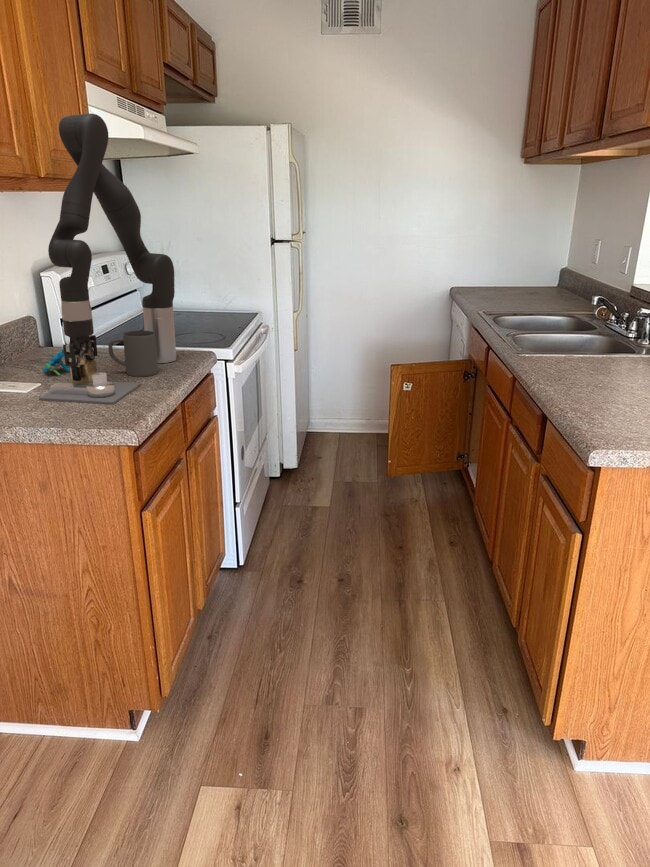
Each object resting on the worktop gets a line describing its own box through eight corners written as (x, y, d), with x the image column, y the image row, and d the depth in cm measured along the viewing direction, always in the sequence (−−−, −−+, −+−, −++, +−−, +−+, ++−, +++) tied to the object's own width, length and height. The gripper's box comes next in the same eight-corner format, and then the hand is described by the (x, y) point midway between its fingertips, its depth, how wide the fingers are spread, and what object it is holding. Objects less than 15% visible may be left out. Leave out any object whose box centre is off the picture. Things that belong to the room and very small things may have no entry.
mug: (159, 369, 196) (156, 330, 192) (156, 376, 188) (153, 336, 183) (113, 369, 194) (109, 330, 190) (108, 377, 186) (104, 336, 182)
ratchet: (61, 387, 173) (58, 368, 171) (119, 391, 171) (117, 371, 169) (47, 395, 166) (44, 374, 164) (108, 398, 164) (106, 378, 163)
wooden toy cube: (80, 380, 180) (78, 359, 178) (97, 381, 180) (95, 360, 178) (72, 385, 175) (69, 363, 173) (89, 386, 175) (87, 364, 173)
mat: (73, 381, 181) (73, 379, 181) (141, 385, 179) (141, 383, 179) (39, 400, 164) (38, 397, 164) (113, 404, 162) (113, 402, 162)
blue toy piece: (54, 361, 196) (71, 340, 192) (69, 374, 197) (86, 354, 193) (34, 375, 186) (51, 353, 182) (50, 389, 188) (67, 368, 183)
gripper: (77, 312, 178) (83, 369, 184) (49, 321, 165) (57, 383, 171) (102, 313, 177) (108, 371, 183) (77, 322, 164) (84, 384, 170)
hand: (84, 376), depth 177 cm, fingers open, 7 cm apart
